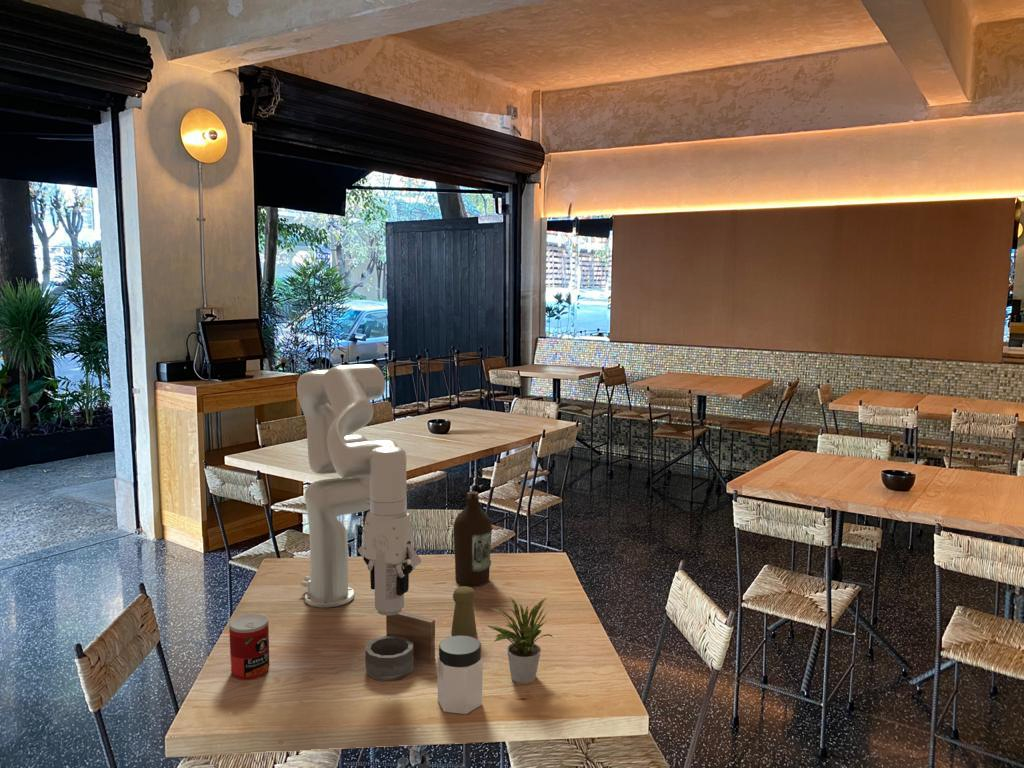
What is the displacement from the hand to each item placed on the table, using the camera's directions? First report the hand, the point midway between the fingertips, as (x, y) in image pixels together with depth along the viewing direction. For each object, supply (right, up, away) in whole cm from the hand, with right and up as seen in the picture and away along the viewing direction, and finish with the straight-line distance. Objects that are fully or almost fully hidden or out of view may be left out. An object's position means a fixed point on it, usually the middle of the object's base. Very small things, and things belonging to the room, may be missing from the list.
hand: (389, 589), depth 156 cm
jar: (+16, -19, -10) cm, 27 cm away
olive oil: (+15, -12, +52) cm, 55 cm away
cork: (+14, -16, +19) cm, 29 cm away
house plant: (+28, -18, +1) cm, 34 cm away
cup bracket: (0, -17, +4) cm, 18 cm away
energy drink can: (0, -5, +1) cm, 5 cm away
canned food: (-29, -18, +1) cm, 34 cm away
